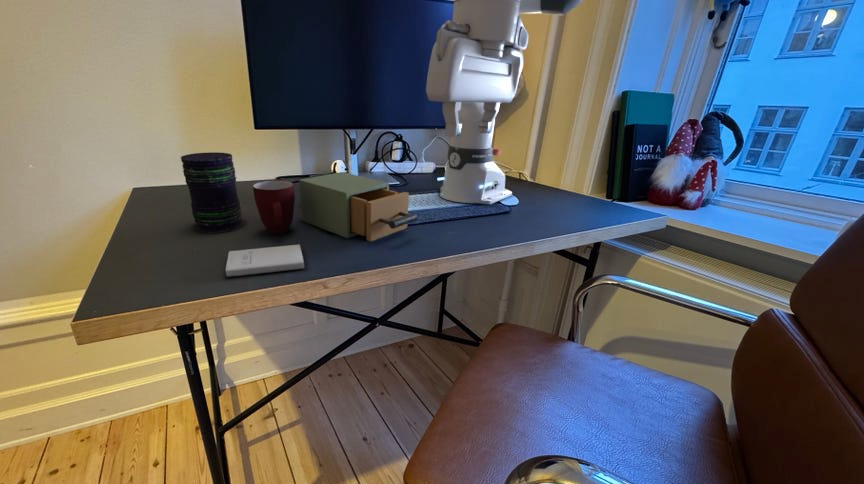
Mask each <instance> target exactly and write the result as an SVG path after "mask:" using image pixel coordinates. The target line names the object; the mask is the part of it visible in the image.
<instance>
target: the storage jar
mask: <svg viewBox="0 0 864 484" xmlns="http://www.w3.org/2000/svg"><path fill="white" fill-rule="evenodd" d="M180 161H181V162H182V172H183V177H184V179H185V181H184V182H185V183H186V186H187V187H188V191H189V196H190V200H191V202H190V207H191V213H192V217H193V219H194V222H195V229H196V230H197V231H198V232H201V233H206V234H218V233H227V232H230V231H234V230H237V229H239V228H241V227H242V226H243V225H244V223H243V219H242V207H241V202H240V199H239V197H238V193H237V185H236V183H237V176H236V168H235V167H234V166H235V165H234V161H233V154H232V153H229V152H227V153H226V152H217V151H215V152H214V151H213V152H196V153H188V154H185V155H181V156H180Z"/></svg>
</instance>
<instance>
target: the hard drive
mask: <svg viewBox="0 0 864 484" xmlns="http://www.w3.org/2000/svg"><path fill="white" fill-rule="evenodd" d="M301 248H302V247H301V244H291V245H281V246H279V245H278V246H270V247H259V248H249V249H238V250H230V251H228V255H227V258H226V265H225V276H226V277H227V278H229V277H241V276H248V275H258V274H267V273H275V272H276V273H277V272H284V271H285V272H286V271H295V270H305V262H304V255H303V253H302V249H301Z"/></svg>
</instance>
